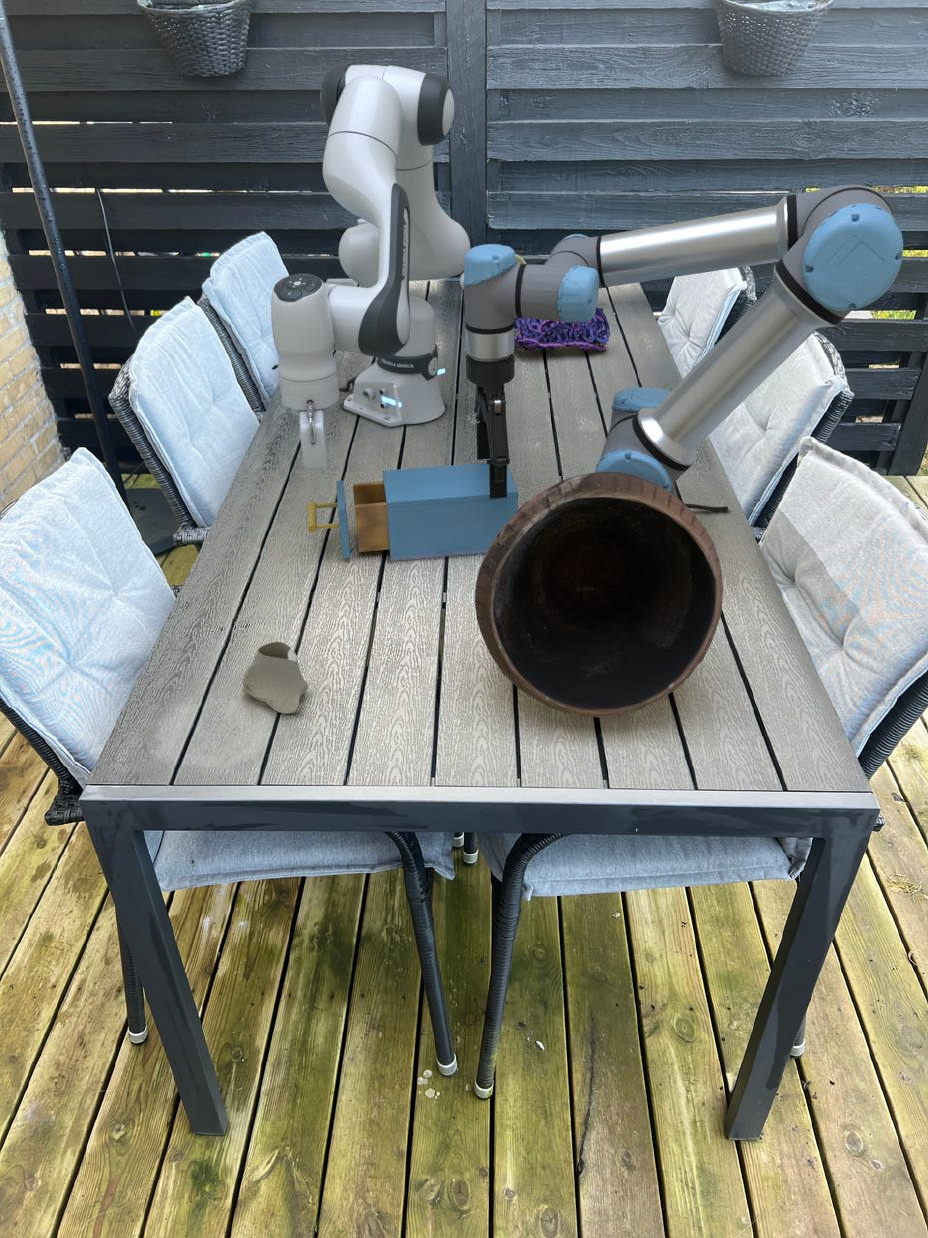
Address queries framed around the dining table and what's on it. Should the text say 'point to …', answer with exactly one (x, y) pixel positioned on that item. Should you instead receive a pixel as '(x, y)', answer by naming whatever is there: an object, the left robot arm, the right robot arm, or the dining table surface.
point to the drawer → (358, 517)
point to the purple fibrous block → (562, 333)
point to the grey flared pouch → (275, 678)
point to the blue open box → (444, 510)
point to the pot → (600, 594)
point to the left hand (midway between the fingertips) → (319, 469)
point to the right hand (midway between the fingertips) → (491, 477)
